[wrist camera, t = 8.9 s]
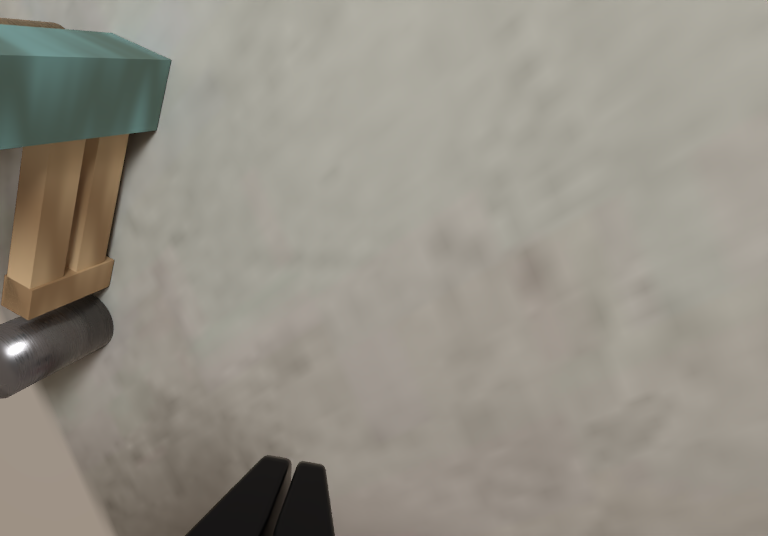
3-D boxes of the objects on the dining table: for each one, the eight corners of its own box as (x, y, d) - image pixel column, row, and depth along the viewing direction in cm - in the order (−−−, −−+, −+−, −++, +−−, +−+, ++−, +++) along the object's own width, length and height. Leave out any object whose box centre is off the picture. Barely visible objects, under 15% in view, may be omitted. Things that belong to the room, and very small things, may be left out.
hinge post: (123, 329, 25) (29, 378, 21) (91, 357, 26) (-5, 409, 22) (86, 281, 25) (-15, 321, 21) (56, 311, 26) (-47, 355, 22)
